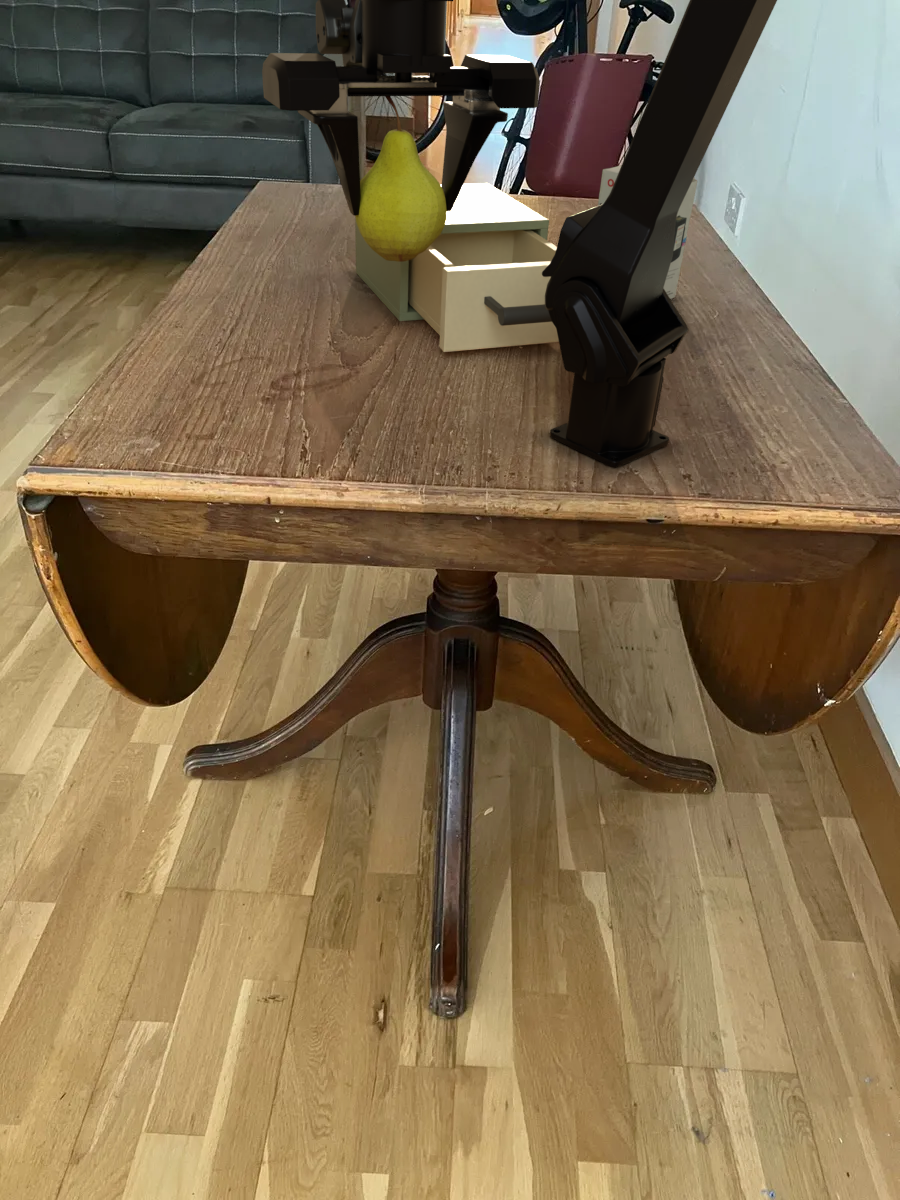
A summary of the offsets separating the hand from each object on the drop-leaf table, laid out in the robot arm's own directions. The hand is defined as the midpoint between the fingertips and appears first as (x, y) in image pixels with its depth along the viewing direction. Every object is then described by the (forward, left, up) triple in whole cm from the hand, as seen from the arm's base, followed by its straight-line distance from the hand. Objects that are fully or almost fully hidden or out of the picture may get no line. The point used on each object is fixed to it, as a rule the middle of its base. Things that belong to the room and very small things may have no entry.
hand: (401, 212), depth 70 cm
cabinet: (+18, +15, -13) cm, 27 cm away
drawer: (+13, +2, -12) cm, 18 cm away
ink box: (+34, +3, -13) cm, 37 cm away
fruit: (0, 0, -4) cm, 4 cm away
